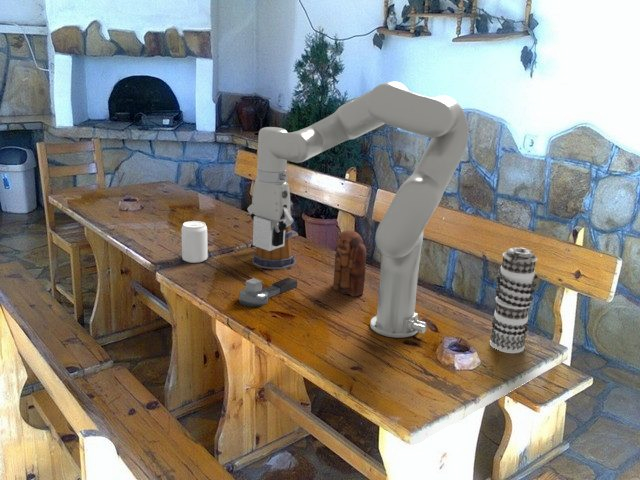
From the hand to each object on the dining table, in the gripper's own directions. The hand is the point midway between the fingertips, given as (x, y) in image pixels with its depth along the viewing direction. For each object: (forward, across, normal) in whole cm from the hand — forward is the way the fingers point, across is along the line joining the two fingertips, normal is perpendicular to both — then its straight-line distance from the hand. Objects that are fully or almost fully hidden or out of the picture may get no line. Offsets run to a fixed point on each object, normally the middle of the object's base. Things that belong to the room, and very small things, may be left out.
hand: (268, 241), depth 174 cm
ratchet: (+18, +4, -6) cm, 20 cm away
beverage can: (+19, +41, -10) cm, 47 cm away
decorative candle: (+17, -60, -23) cm, 67 cm away
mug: (+19, +24, -28) cm, 42 cm away
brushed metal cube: (+1, 0, 0) cm, 1 cm away
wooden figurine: (+18, -10, -24) cm, 32 cm away
